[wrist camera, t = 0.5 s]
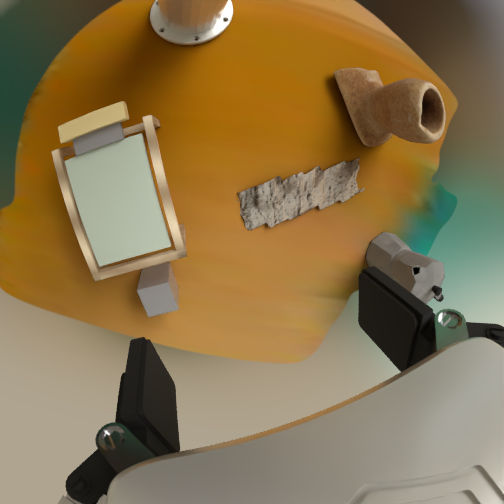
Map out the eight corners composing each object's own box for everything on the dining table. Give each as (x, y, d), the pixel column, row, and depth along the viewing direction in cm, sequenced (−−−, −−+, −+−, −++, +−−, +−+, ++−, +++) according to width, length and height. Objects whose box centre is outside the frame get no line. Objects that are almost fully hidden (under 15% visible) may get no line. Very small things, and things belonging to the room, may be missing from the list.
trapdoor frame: (80, 146, 34) (51, 151, 25) (159, 120, 36) (151, 114, 26) (111, 250, 42) (94, 281, 32) (185, 229, 43) (186, 256, 34)
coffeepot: (351, 254, 53) (409, 301, 37) (378, 217, 51) (443, 252, 35) (388, 284, 60) (438, 327, 44) (411, 252, 58) (465, 289, 42)
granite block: (141, 268, 44) (136, 290, 38) (169, 261, 45) (168, 282, 39) (151, 293, 46) (148, 317, 40) (178, 286, 47) (178, 309, 41)
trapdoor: (61, 130, 25) (50, 130, 22) (136, 101, 26) (131, 98, 23) (101, 263, 33) (95, 274, 30) (171, 243, 34) (170, 253, 31)
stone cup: (400, 133, 45) (459, 141, 32) (356, 152, 45) (415, 164, 32) (376, 61, 38) (433, 49, 25) (326, 73, 38) (382, 56, 25)
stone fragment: (228, 194, 44) (254, 245, 48) (231, 198, 41) (257, 251, 46) (356, 135, 44) (371, 184, 49) (365, 136, 42) (380, 187, 46)
